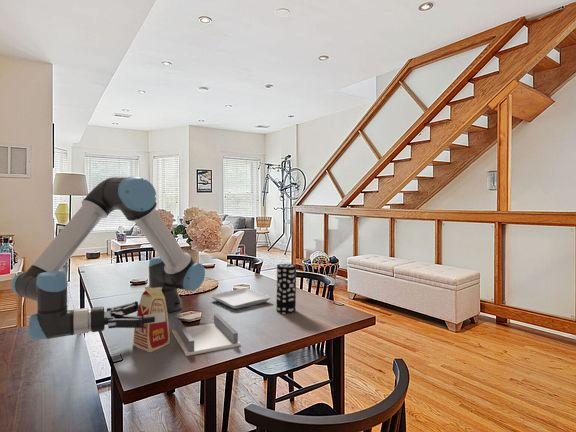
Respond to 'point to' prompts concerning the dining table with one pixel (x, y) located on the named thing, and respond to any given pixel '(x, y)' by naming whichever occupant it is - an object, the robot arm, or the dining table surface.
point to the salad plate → (240, 298)
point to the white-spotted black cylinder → (286, 288)
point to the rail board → (205, 336)
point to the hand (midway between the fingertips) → (161, 310)
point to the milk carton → (152, 333)
